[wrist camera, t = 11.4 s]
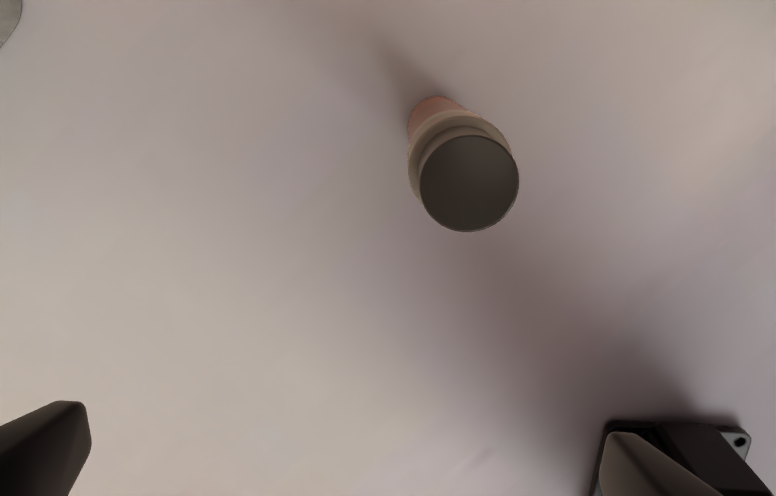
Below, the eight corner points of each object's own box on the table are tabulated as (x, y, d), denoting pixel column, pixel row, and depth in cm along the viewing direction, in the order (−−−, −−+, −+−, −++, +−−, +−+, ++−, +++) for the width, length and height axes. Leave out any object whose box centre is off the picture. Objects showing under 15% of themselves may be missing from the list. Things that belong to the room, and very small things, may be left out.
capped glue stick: (464, 157, 20) (522, 245, 10) (405, 154, 20) (405, 239, 10) (469, 96, 19) (538, 126, 9) (408, 93, 19) (412, 120, 9)
